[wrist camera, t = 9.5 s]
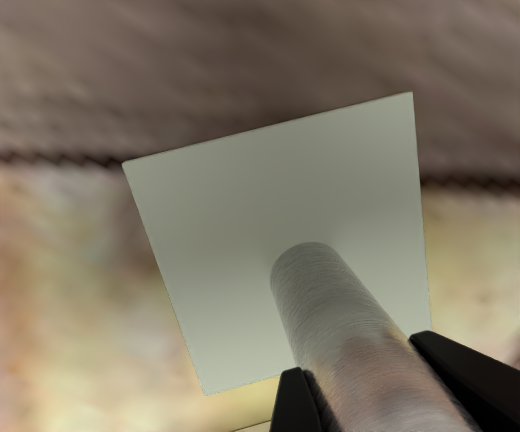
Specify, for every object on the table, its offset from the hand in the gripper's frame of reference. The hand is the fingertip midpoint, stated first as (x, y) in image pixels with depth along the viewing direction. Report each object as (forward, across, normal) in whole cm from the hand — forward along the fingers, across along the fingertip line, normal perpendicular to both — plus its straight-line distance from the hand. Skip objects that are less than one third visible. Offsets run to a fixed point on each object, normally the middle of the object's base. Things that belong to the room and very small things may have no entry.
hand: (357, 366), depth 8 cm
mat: (+6, 0, 0) cm, 6 cm away
